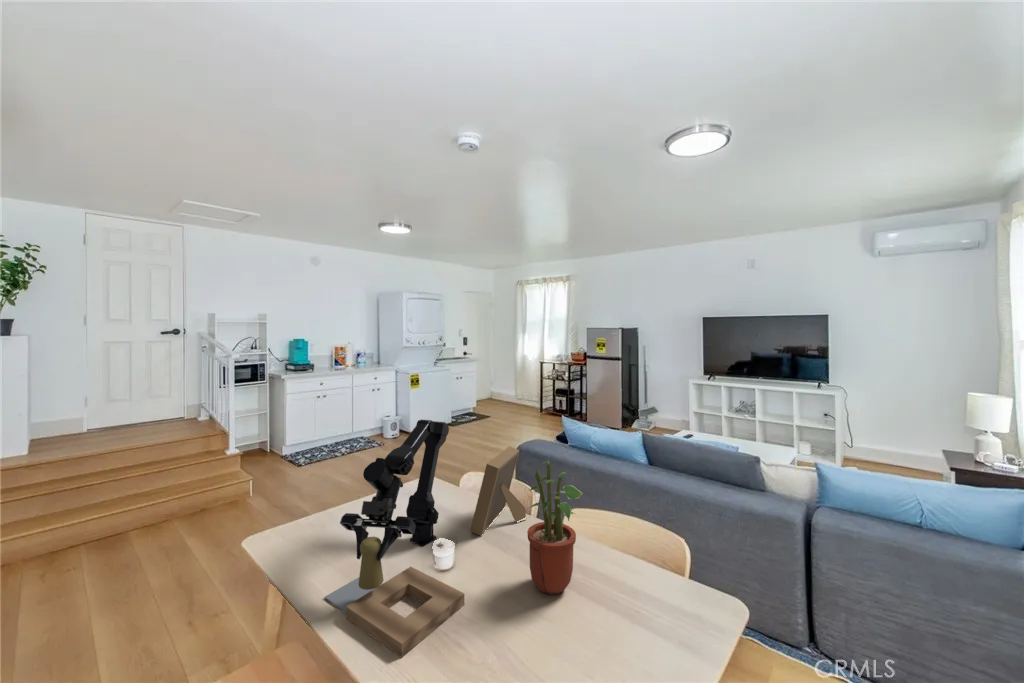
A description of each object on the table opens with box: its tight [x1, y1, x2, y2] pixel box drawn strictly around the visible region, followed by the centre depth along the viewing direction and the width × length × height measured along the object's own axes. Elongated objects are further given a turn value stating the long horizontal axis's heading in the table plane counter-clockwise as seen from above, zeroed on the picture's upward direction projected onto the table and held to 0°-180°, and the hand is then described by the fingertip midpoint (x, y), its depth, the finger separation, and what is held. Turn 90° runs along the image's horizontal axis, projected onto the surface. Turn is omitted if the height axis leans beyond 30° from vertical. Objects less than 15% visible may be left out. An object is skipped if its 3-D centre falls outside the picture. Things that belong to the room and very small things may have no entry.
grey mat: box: [323, 576, 375, 614], centre depth 105 cm, size 10×10×1 cm
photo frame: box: [470, 445, 527, 536], centre depth 144 cm, size 15×22×25 cm
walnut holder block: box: [345, 566, 465, 658], centre depth 99 cm, size 20×20×3 cm
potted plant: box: [525, 460, 584, 595], centre depth 111 cm, size 17×16×35 cm
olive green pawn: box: [358, 536, 384, 590], centre depth 102 cm, size 6×6×11 cm
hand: (368, 559), depth 100 cm, fingers closed on olive green pawn, 5 cm apart
